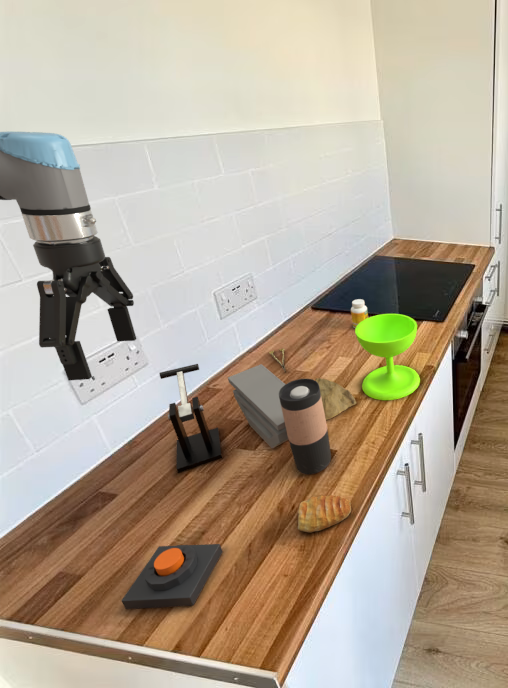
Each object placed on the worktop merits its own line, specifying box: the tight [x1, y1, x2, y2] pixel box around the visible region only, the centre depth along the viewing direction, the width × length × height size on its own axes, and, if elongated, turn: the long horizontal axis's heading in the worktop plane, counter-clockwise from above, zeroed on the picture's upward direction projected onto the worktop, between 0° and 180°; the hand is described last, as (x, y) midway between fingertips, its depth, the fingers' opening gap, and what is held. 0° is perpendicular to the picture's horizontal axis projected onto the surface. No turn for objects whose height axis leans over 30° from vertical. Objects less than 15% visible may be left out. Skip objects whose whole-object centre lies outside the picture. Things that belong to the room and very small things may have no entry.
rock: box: [315, 377, 357, 421], centre depth 109 cm, size 11×9×10 cm
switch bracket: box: [167, 396, 223, 474], centre depth 94 cm, size 10×8×13 cm
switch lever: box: [158, 363, 200, 423], centre depth 94 cm, size 13×7×2 cm, turn 35°
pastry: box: [297, 494, 352, 533], centre depth 83 cm, size 9×7×4 cm
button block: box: [121, 543, 224, 610], centre depth 71 cm, size 10×9×4 cm
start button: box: [154, 548, 184, 576], centre depth 70 cm, size 4×4×2 cm
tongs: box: [268, 347, 287, 373], centre depth 129 cm, size 4×13×2 cm, turn 40°
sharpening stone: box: [227, 363, 289, 449], centre depth 102 cm, size 25×8×11 cm, turn 51°
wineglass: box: [354, 313, 421, 401], centre depth 119 cm, size 16×16×18 cm
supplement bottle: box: [350, 298, 369, 330], centre depth 149 cm, size 5×5×10 cm
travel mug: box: [279, 378, 332, 475], centre depth 91 cm, size 8×8×20 cm
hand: (105, 358), depth 75 cm, fingers open, 13 cm apart
